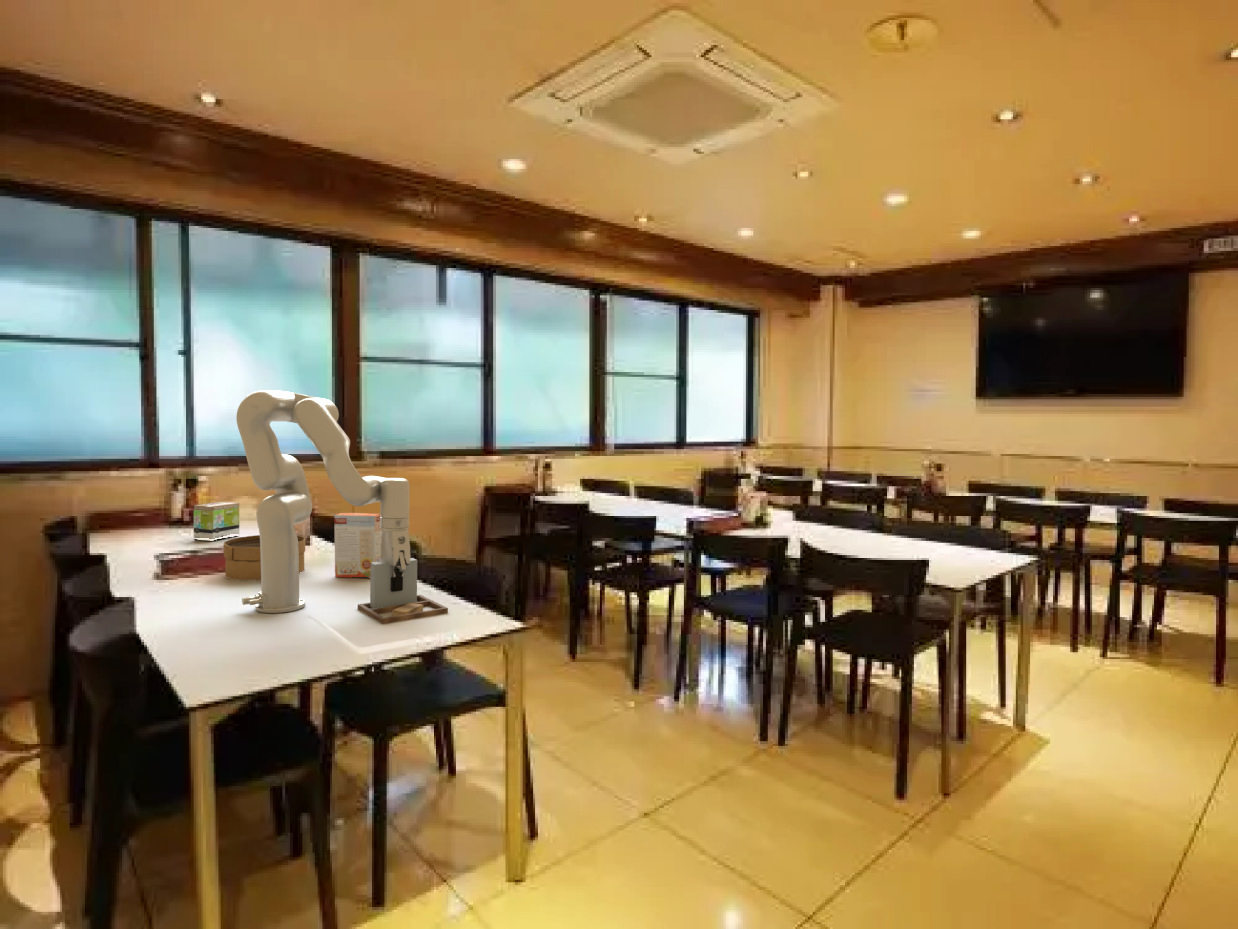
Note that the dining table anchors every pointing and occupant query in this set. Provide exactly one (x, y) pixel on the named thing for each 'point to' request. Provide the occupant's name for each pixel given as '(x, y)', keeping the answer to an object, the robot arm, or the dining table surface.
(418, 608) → the upper offcut
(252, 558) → the steamer basket
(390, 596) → the grey panel
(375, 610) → the frame
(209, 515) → the tea box
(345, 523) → the cracker box
